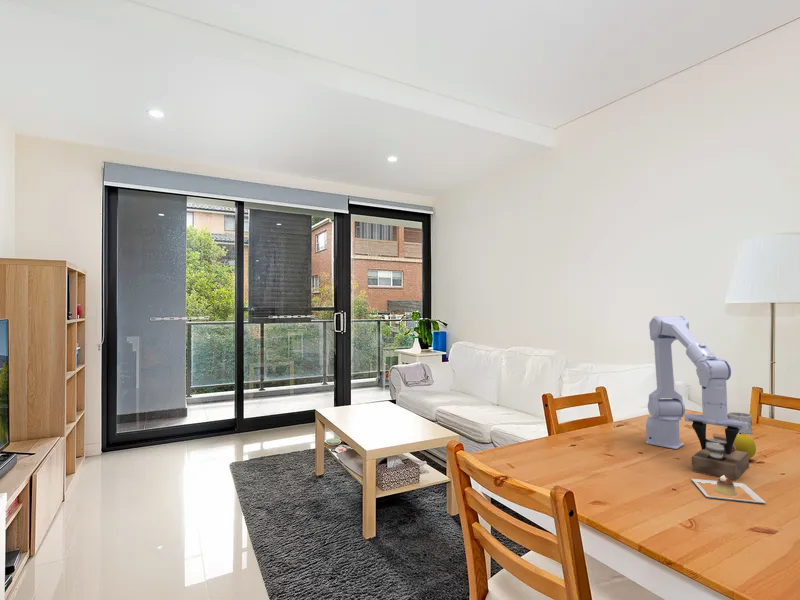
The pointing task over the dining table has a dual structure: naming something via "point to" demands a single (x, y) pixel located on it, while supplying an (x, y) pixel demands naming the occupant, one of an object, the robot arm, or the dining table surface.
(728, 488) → the dessert
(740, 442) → the lemon
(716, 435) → the bar
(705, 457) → the socket block
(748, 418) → the mug
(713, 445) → the silver knob
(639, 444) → the dining table surface
